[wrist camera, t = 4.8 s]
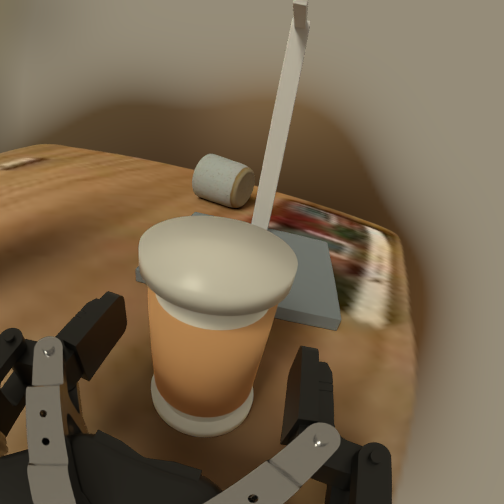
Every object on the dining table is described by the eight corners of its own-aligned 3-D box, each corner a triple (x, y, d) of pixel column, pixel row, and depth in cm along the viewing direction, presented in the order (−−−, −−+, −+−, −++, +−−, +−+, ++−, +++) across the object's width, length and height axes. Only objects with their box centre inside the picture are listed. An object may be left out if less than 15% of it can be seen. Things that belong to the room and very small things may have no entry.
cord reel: (136, 416, 13) (106, 264, 8) (172, 347, 18) (176, 207, 13) (241, 448, 12) (296, 315, 8) (257, 370, 18) (298, 234, 13)
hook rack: (136, 280, 24) (189, -64, 10) (194, 220, 38) (233, -1, 24) (336, 330, 23) (424, -27, 8) (324, 250, 37) (376, 26, 23)
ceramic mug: (231, 214, 42) (239, 165, 39) (188, 200, 45) (194, 154, 41) (260, 202, 51) (268, 161, 48) (222, 190, 54) (229, 152, 50)
